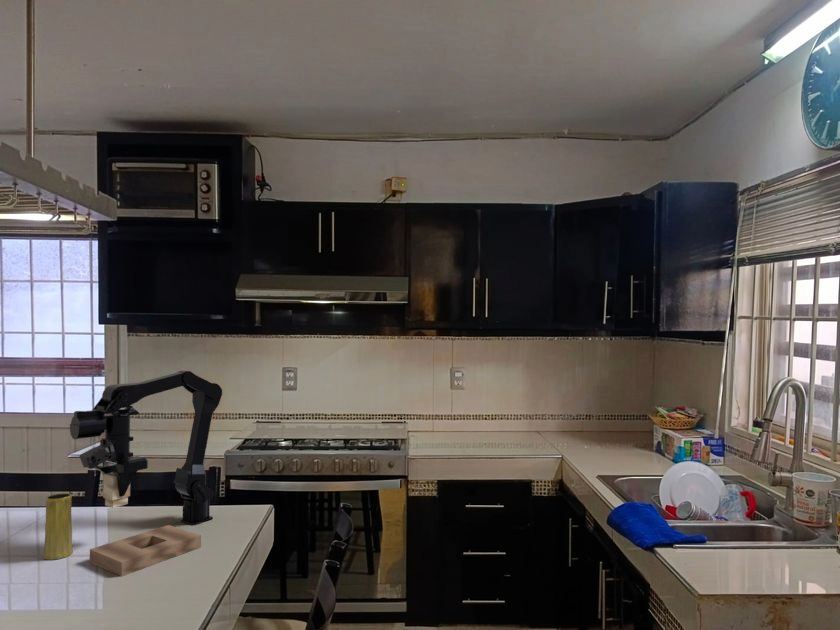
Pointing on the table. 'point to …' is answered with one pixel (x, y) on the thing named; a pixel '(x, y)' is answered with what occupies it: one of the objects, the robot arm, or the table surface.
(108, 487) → the peg
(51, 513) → the vase
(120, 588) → the table surface
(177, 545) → the board
